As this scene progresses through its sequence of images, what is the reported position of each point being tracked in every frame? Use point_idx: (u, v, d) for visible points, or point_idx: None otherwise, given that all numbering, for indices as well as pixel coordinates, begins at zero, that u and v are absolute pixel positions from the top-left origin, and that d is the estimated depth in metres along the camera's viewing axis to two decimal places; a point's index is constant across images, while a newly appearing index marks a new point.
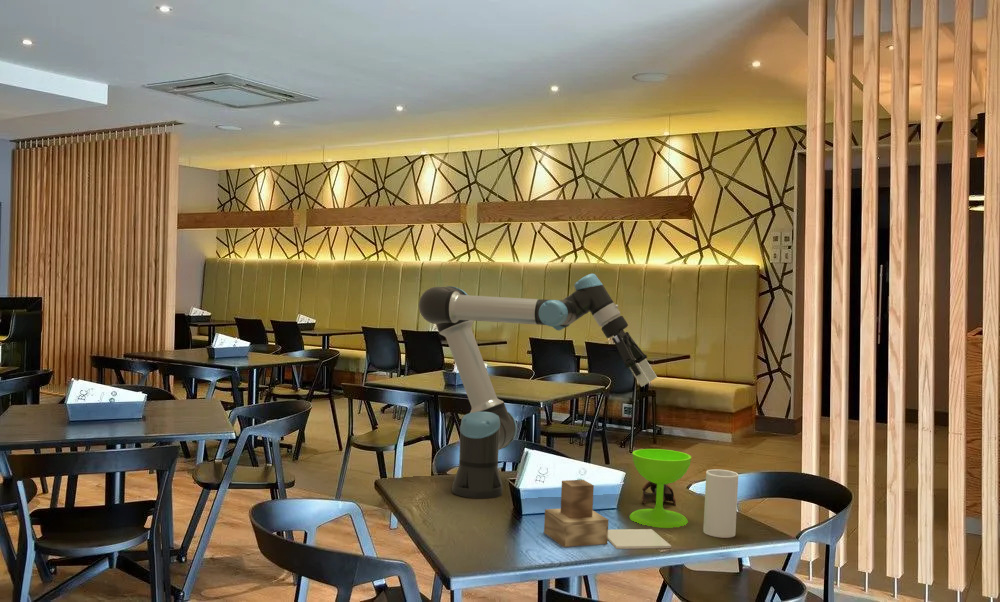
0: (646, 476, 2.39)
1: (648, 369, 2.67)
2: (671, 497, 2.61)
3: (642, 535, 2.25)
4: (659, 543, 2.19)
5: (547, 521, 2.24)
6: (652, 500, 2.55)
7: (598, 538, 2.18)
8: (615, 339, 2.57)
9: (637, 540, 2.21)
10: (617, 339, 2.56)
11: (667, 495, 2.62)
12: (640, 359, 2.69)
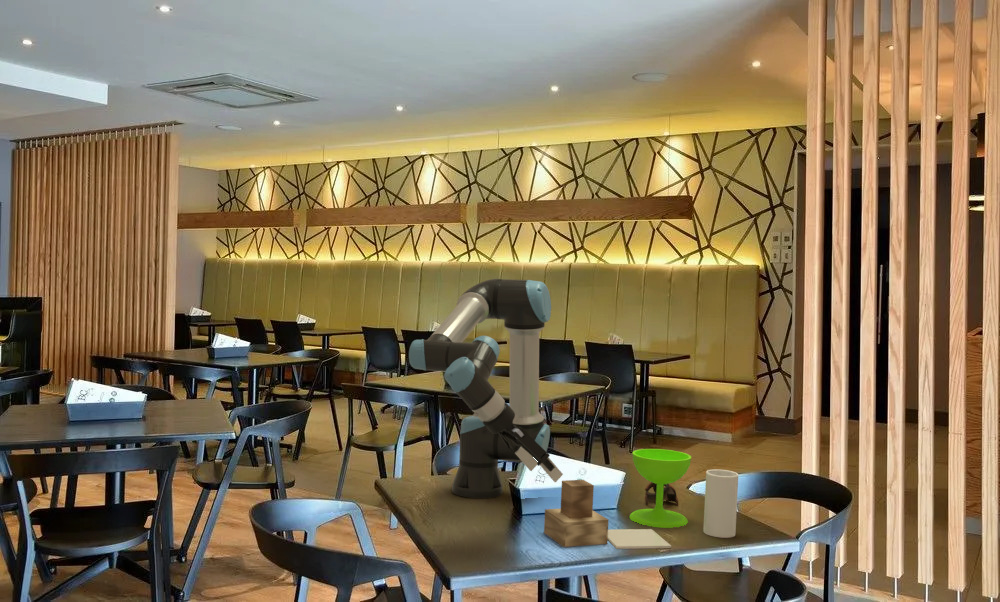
0: (646, 476, 2.39)
1: None
2: (674, 497, 2.61)
3: (642, 535, 2.25)
4: (659, 543, 2.19)
5: (547, 521, 2.24)
6: (655, 500, 2.55)
7: (598, 538, 2.18)
8: None
9: (637, 540, 2.21)
10: None
11: (670, 495, 2.62)
12: None
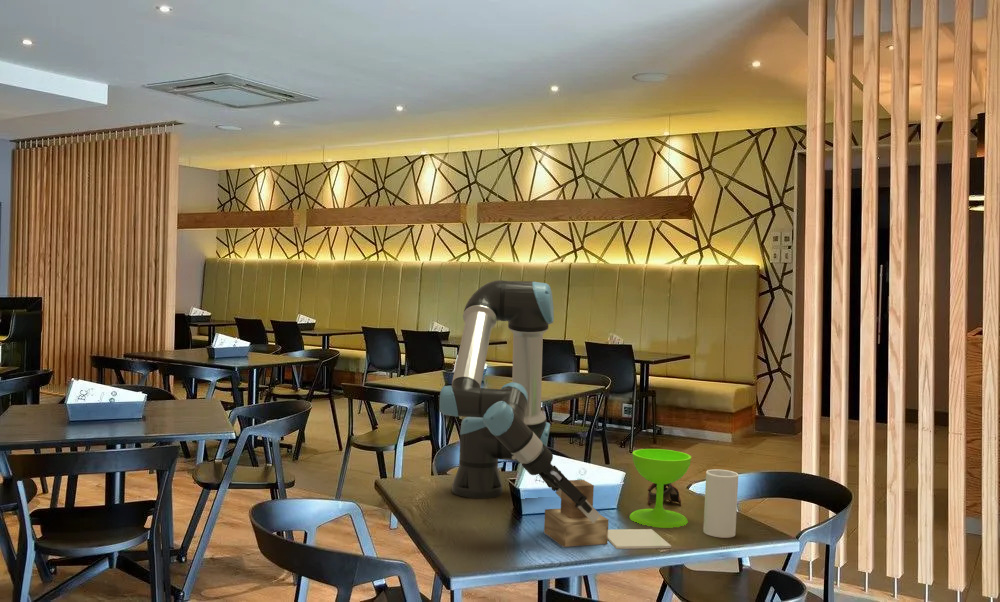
0: (646, 476, 2.39)
1: None
2: (676, 498, 2.61)
3: (642, 535, 2.25)
4: (659, 543, 2.19)
5: (547, 521, 2.24)
6: None
7: (598, 538, 2.18)
8: None
9: (637, 540, 2.21)
10: None
11: (672, 496, 2.62)
12: None
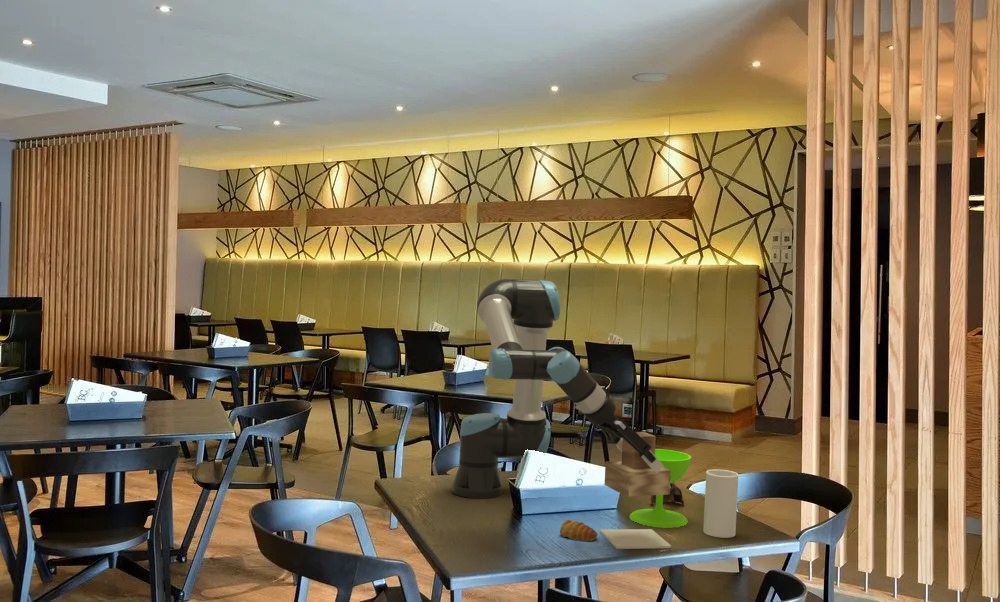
0: None
1: None
2: (679, 498, 2.60)
3: (642, 535, 2.25)
4: (659, 543, 2.19)
5: (608, 473, 2.24)
6: None
7: (661, 488, 2.18)
8: None
9: (637, 540, 2.21)
10: None
11: (675, 496, 2.62)
12: None
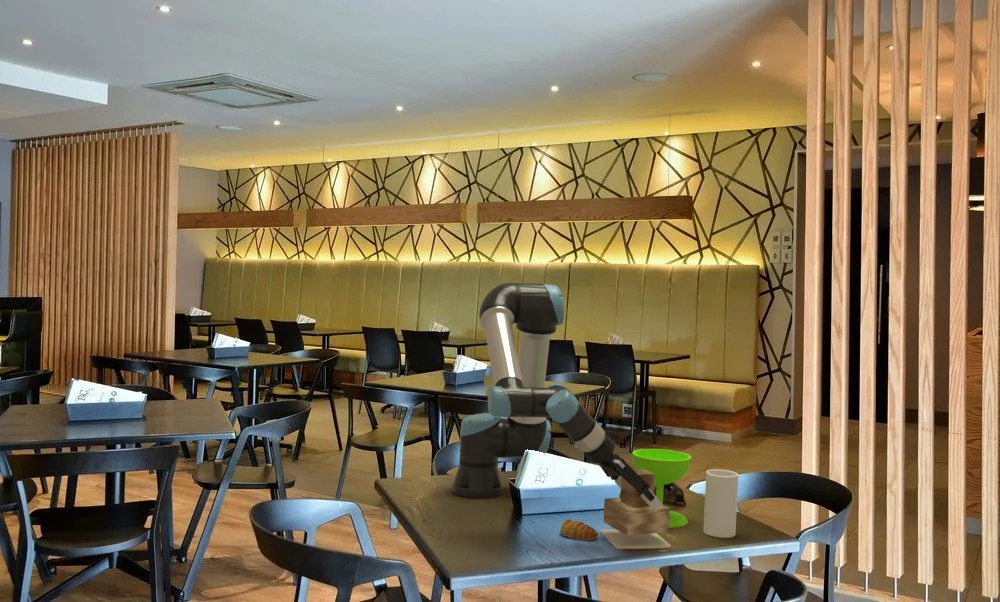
0: None
1: None
2: (681, 498, 2.60)
3: (642, 535, 2.25)
4: (659, 543, 2.19)
5: (607, 510, 2.24)
6: (663, 501, 2.55)
7: (660, 527, 2.18)
8: None
9: (637, 540, 2.21)
10: None
11: (677, 496, 2.62)
12: None
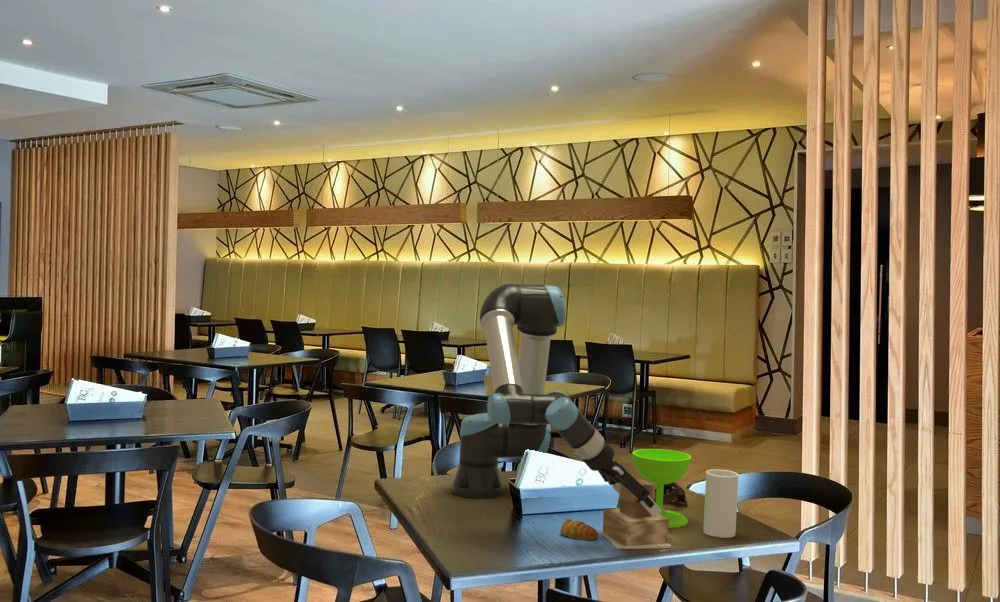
0: (646, 476, 2.39)
1: None
2: (682, 498, 2.60)
3: None
4: None
5: (606, 520, 2.25)
6: (665, 501, 2.54)
7: (659, 537, 2.19)
8: None
9: None
10: None
11: (678, 496, 2.61)
12: None
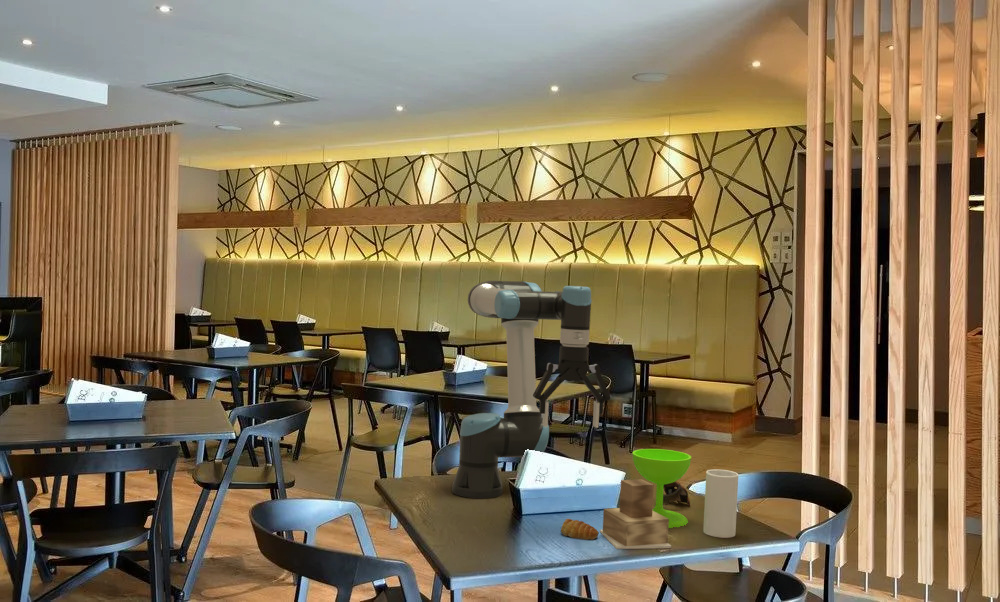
0: (646, 476, 2.39)
1: (595, 414, 2.31)
2: (685, 498, 2.60)
3: None
4: None
5: (606, 520, 2.25)
6: (668, 502, 2.54)
7: (659, 537, 2.19)
8: (547, 366, 2.29)
9: None
10: (547, 367, 2.28)
11: (681, 496, 2.61)
12: (598, 399, 2.31)
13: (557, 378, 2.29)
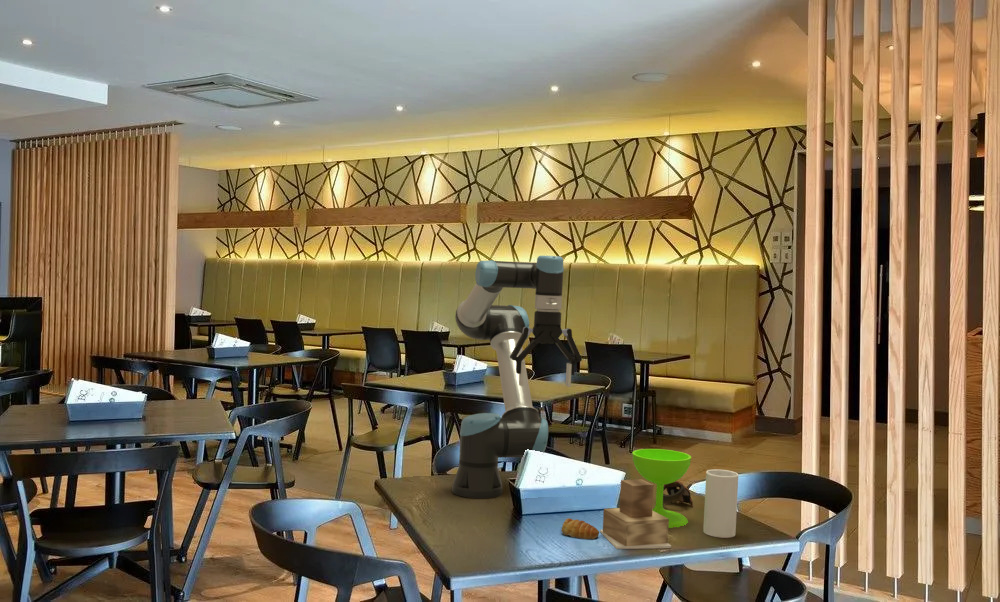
0: (646, 476, 2.39)
1: (567, 374, 2.49)
2: (688, 498, 2.60)
3: None
4: None
5: (606, 520, 2.25)
6: (670, 502, 2.54)
7: (659, 537, 2.19)
8: (523, 330, 2.47)
9: None
10: (523, 331, 2.46)
11: (683, 497, 2.61)
12: (570, 361, 2.49)
13: (532, 341, 2.47)
